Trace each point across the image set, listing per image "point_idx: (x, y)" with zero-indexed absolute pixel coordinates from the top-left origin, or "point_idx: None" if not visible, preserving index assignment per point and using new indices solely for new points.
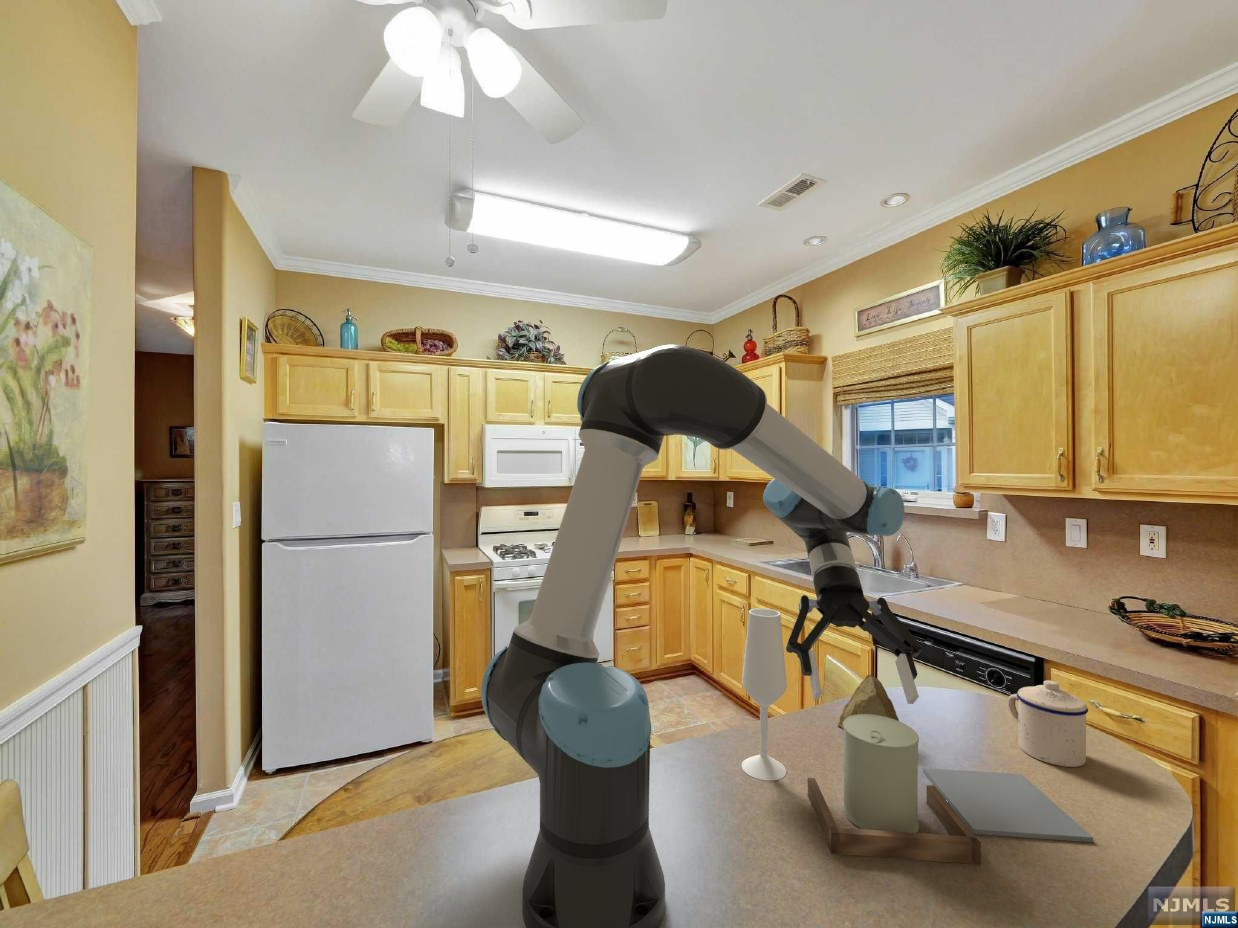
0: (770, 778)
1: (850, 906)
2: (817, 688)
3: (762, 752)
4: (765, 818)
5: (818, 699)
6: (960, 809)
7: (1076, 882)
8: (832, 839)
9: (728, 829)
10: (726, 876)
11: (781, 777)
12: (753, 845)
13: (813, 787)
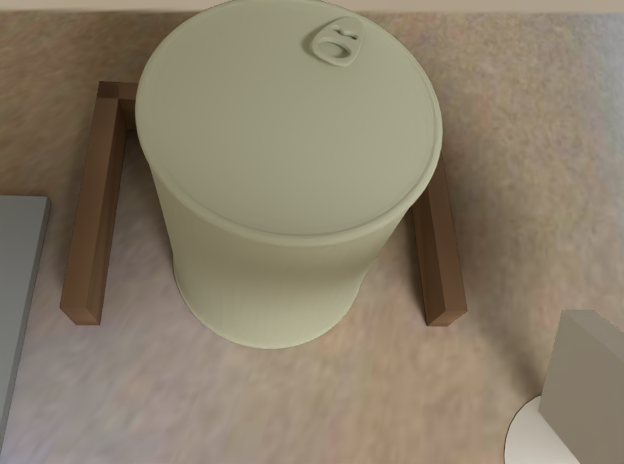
0: None
1: (407, 29)
2: (601, 322)
3: None
4: (550, 223)
5: (540, 403)
6: (20, 277)
7: None
8: None
9: (621, 184)
10: (600, 76)
11: (519, 413)
12: (566, 143)
13: (454, 262)
